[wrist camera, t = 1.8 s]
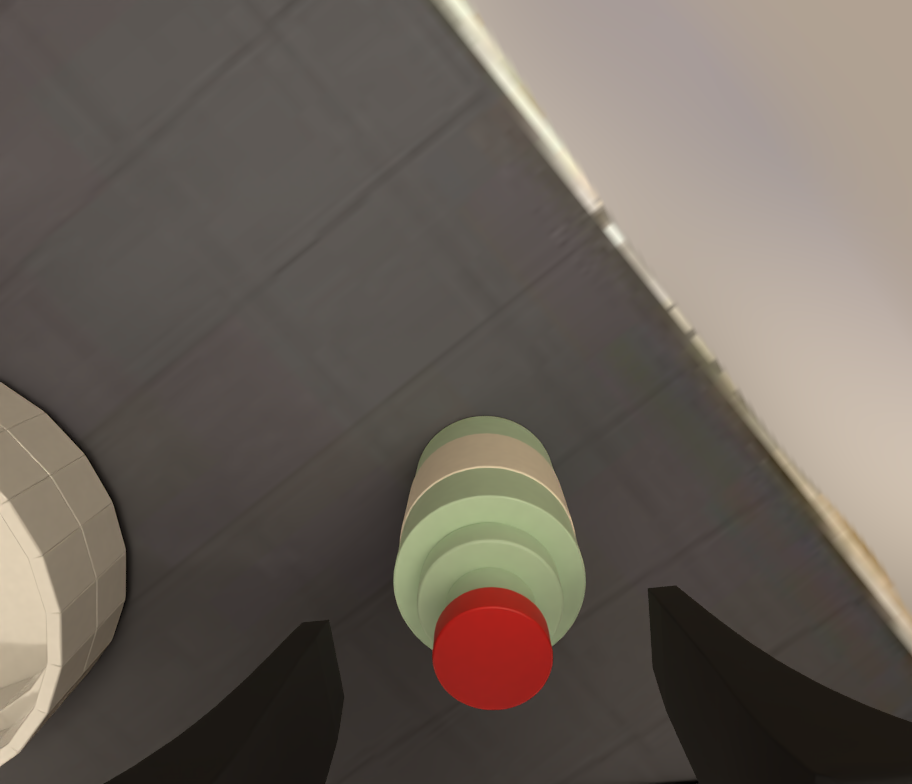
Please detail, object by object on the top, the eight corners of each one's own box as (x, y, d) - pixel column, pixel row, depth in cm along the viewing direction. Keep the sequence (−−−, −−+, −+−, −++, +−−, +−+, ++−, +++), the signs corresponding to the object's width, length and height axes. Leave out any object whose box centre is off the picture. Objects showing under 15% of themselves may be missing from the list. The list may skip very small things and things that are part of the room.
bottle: (548, 406, 23) (603, 540, 13) (560, 537, 24) (619, 747, 14) (405, 422, 23) (356, 566, 13) (424, 551, 24) (393, 767, 15)
